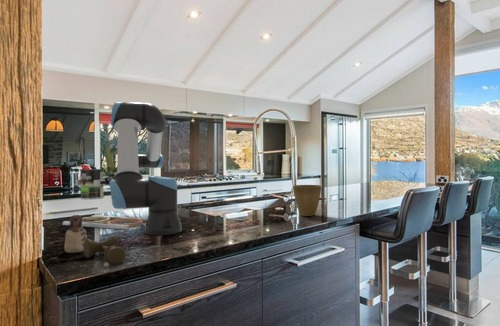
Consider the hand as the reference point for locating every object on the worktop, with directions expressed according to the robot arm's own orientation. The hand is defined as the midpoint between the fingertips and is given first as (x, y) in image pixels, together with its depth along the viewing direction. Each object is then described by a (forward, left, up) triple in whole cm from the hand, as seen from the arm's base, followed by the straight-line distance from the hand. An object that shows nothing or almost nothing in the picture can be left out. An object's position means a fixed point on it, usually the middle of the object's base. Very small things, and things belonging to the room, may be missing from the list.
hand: (85, 182), depth 163 cm
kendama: (-49, +42, -20) cm, 67 cm away
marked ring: (-19, -4, -19) cm, 28 cm away
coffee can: (0, -4, -8) cm, 9 cm away
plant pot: (-96, -53, -20) cm, 112 cm away
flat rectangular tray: (-10, -4, -19) cm, 22 cm away
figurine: (-33, +38, -20) cm, 54 cm away
